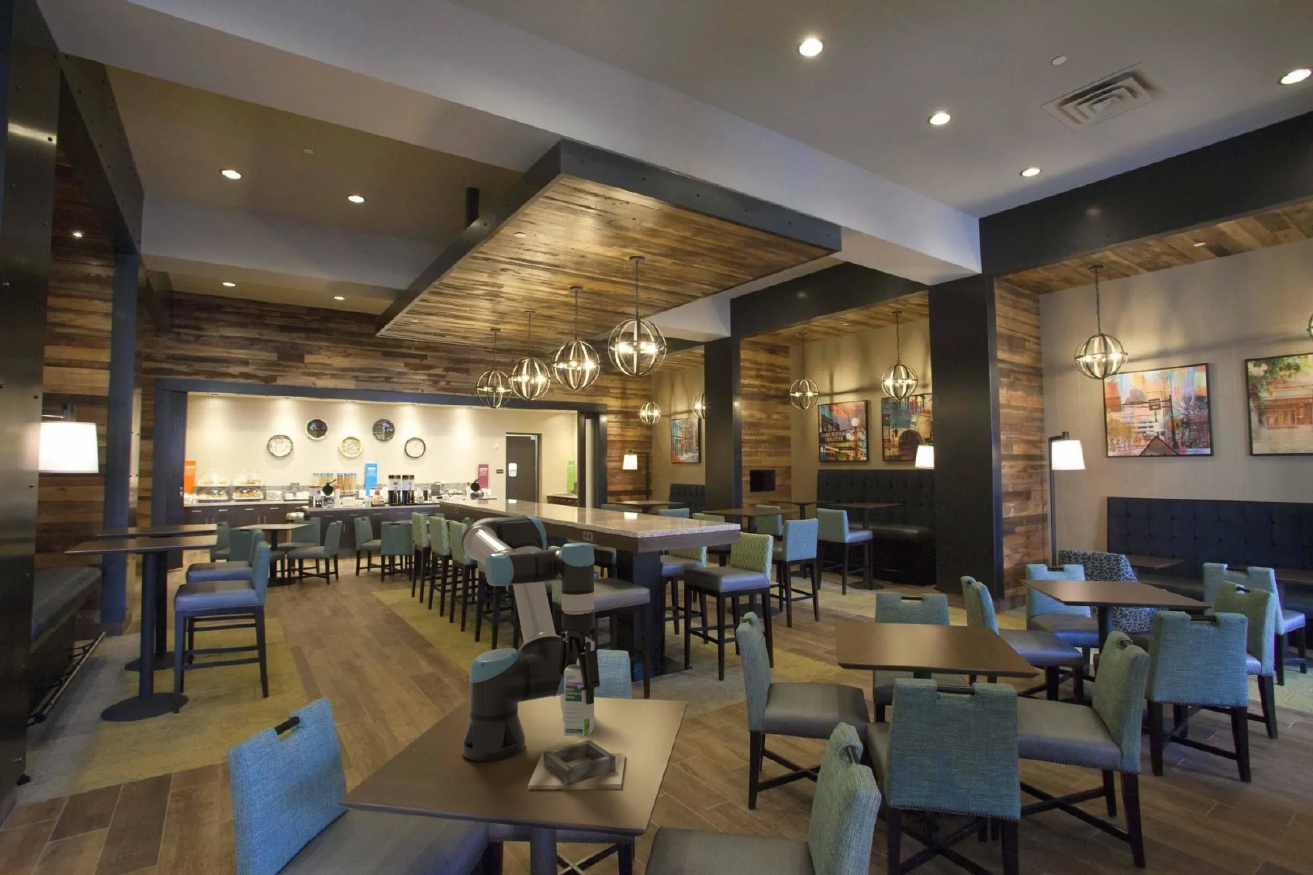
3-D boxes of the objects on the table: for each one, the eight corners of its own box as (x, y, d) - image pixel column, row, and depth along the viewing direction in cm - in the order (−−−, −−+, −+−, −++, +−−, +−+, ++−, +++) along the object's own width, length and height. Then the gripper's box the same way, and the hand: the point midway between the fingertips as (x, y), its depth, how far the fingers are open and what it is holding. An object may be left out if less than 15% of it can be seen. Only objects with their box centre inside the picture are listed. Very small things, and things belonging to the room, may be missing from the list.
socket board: (527, 790, 136) (527, 771, 136) (542, 757, 152) (541, 740, 153) (621, 789, 136) (620, 770, 136) (625, 756, 152) (625, 739, 153)
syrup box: (563, 736, 142) (563, 669, 143) (570, 726, 148) (570, 662, 149) (588, 737, 141) (587, 670, 143) (594, 727, 147) (594, 663, 148)
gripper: (615, 615, 141) (616, 722, 139) (572, 603, 158) (572, 697, 156) (585, 620, 136) (586, 729, 134) (544, 606, 153) (544, 703, 151)
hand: (579, 712), depth 145 cm, fingers closed on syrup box, 8 cm apart
